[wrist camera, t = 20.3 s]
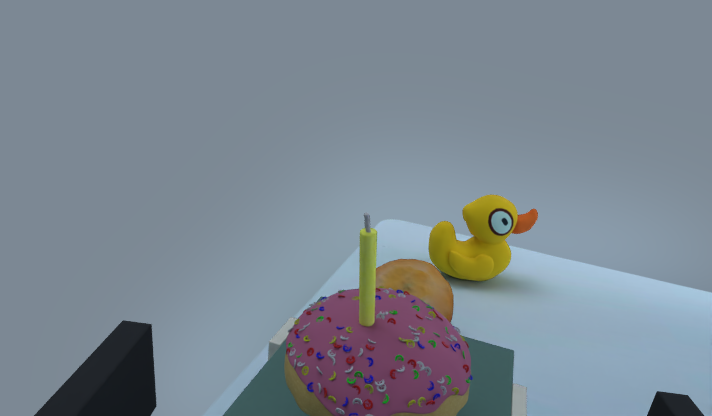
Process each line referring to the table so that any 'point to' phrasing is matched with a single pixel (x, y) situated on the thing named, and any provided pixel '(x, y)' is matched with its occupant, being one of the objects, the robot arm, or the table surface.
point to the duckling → (479, 239)
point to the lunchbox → (481, 412)
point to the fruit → (418, 283)
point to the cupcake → (376, 352)
